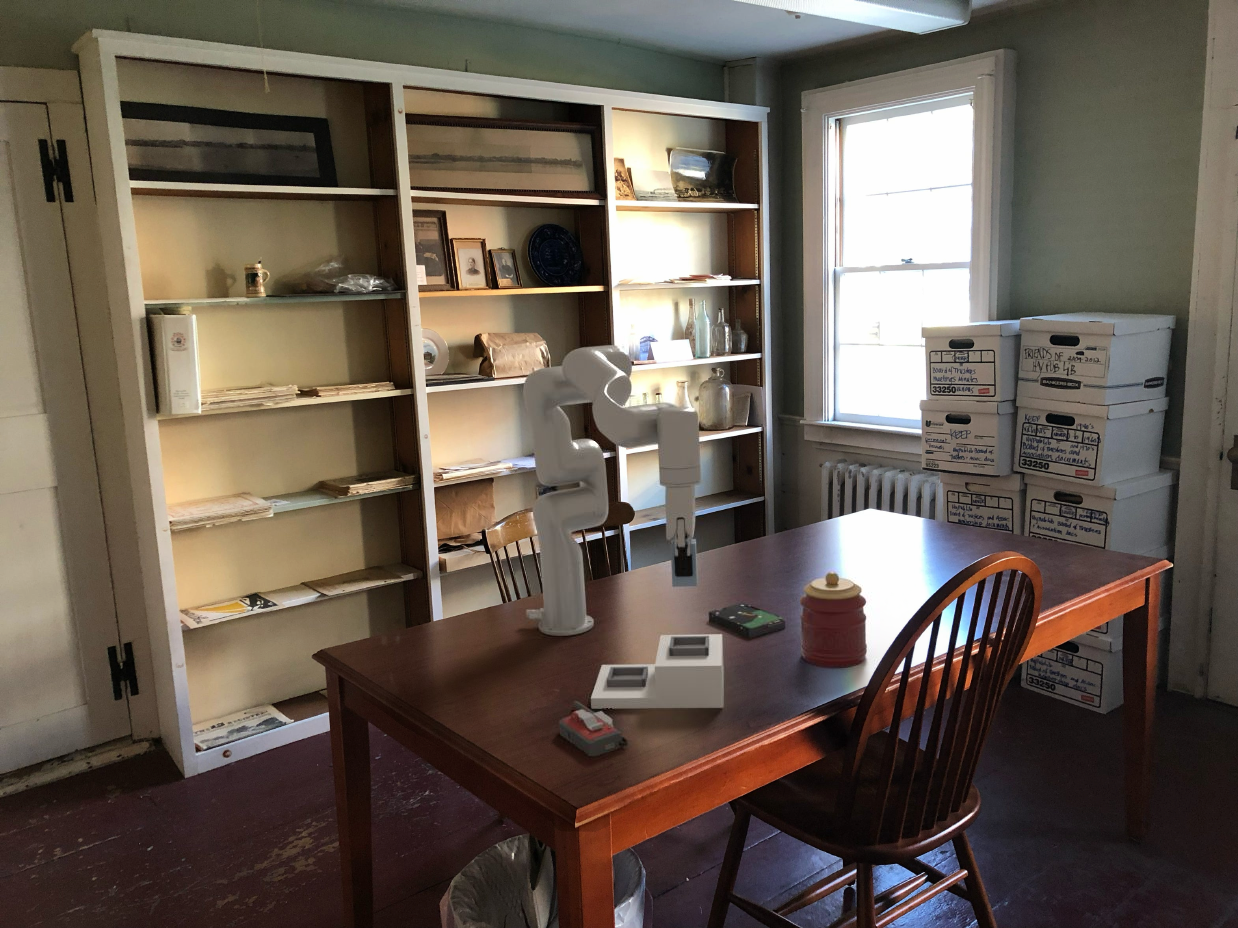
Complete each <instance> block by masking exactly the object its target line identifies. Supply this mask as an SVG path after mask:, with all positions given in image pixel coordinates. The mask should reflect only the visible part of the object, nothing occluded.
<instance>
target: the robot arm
mask: <svg viewBox="0 0 1238 928" xmlns="http://www.w3.org/2000/svg"><path fill="white" fill-rule="evenodd" d="M632 371H633V365H632V360H631V358H630V355H629V354H628V353H627V351H626V350H625V349H624V348H622V347H621V346H618V345H615V344H613V345H612V344H611V345H610V344H608V345H597V346H596V345H595V346H587V347H586V346H584V347H580V348H576V349H573V350H571V351H570V352H568V353H567V354H566V356H565V357H564V359H563V360H562V363H561V365H559V366H550V367H545V368H540V369H536V370H534V371H532V372H531V373H529V374H528V375H527V377H525V380H524V383H523V391H522V395H523V400H524V401H523V402H524V406H525V408H526V412H527V414H528V418H529V420H530V424H531V430H532V432H531V433H532V445H533V452H534V453H533V454H534V455H533V456H534V463H535V464H534V466H535V473H536V476H537V479H538V481H539V483H540V484H542V485H543V486H548V487H554V486H555V487H556V486H563V485H569V484H575V483H579V487H574V488H573V487H572V488H566V489H560V490H556V491H555V490H554V491H551V492H546V493H545V494H542V495H541V496H539V497H538V498H537V499H535V501H534V503H533V506H532V518H533V522H534V526H535V530H536V534H537V541H538V546H539V557H540V558H539V559H540V570H541V581H542V583H541V584H542V598H543V607H540V609H526V611H525V615H526V618H527V619H529V621H539V623H538V630H539V631H540V632H541V633H543V634H545V635H547V636H548V635H550V636H555V637H556V636H557V637H565V636H574V635H579V634H582V633H585V632H587V631H589V630H592V629H593V627H594V626H595V624H594V621H595V620H594V618H592V616H590V615H587V604H586V603H587V602H586V601H587V600H586V590H585V589H586V588H585V573H584V572H585V571H584V561H583V550H582V548H581V545H580V544H579V543H578V542H577V540H575V538H574V537H573V535H572V533H573V532H576V531H581V530H585V529H591V528H594V527H595V528H596V527H598V526H601V525H603V524H604V523H605V521H606V520H607V518H608V515H609V494H608V484H607V483H608V481H607V468H606V467H607V466H606V460H605V459H606V458H605V455H604V452H603V451H602V448H601V447H600V445H599V444H598V443H597V442H596V441H594V440H593V439H591V438H580V439H572V432H571V423H570V419H569V417H568V416H567V414H566V413H565V412H564V410H562V408H561V407H562V406H568V405H578V404H579V405H580V404H586V403H592V415H593V420H594V422H595V425H596V428H597V429H598V431H599V432H600V433H601V434H602V435H603V436H604V437H606V438H607V439H608V440H609V441H610V442H611V443H613V444H615V445H616V446H618V447H620V448H625V449H630V448H631V449H633V448H638V447H644V446H650V445H657V455H658V457H657V458H658V470H659V471H658V472H659V473H658V474H659V485H660V486H662V487H665V496H664V498H665V499H664V501H665V528H666V529H665V532H666V533H665V535H666V536H665V537H666V540H667V541H671V540H674V541H675V555H674V561H675V576H676V577H691V576H692V575H693V566H692V555H690V540H691V539H694V535H695V534H694V533H695V528H696V486H698V485H699V484H701V483H702V474H701V473H702V472H701V471H702V470H701V450H700V449H701V445H700V444H701V443H700V430H699V429H700V427H699V426H700V425H699V424H700V422H699V421H700V420H699V413H698V412H697V410H696V409H695V408H693V407H690V406H679V405H677V404H674V403H671V402H657V403H647V404H639V405H631V406H624V405H625V404H626V403H627V402H628V401H629V399H630V396H631V393H632V381H631V379H630V377H631V376H632ZM560 406H561V407H560ZM685 542H687V544H685Z"/></svg>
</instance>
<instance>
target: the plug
mask: <svg viewBox="0 0 1238 928" xmlns="http://www.w3.org/2000/svg"><path fill="white" fill-rule="evenodd" d="M674 540H675V539H670V559H671V560H670V562H671V583H672V585H671V586H672V587H673V588H674V587H675V588H676V587H683V588H684V587H698V582H699V580H698V557H697V539H696V538H692V539H691V540H690V555H692V566H693V575H692V576H691V577H676V576H675V561H674V555H675V541H674ZM685 544H687V542H685Z"/></svg>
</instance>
